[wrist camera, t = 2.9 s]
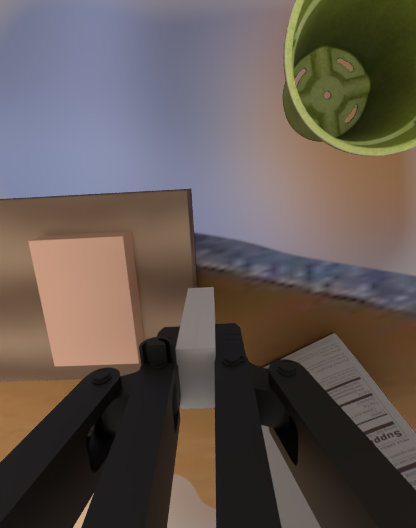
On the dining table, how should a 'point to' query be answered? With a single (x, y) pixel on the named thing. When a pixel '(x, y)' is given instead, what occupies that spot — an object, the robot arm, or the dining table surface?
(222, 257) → the dining table surface
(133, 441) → the robot arm
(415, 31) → the plant pot
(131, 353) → the tile
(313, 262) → the dining table surface
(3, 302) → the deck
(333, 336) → the supplement box
